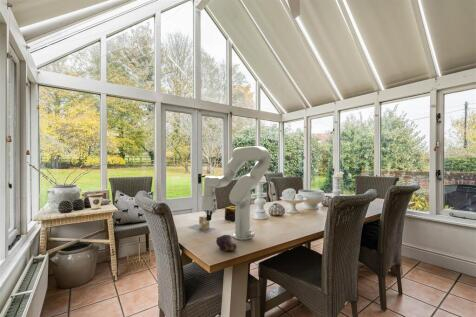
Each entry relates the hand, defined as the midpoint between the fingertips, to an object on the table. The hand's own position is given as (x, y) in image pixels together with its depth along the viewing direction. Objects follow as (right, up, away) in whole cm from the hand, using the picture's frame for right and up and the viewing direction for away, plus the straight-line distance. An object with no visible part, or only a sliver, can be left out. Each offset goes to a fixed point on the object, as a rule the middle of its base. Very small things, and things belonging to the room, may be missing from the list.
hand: (209, 220), depth 155 cm
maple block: (-4, -7, +3) cm, 8 cm away
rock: (+13, -8, -33) cm, 36 cm away
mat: (-6, -7, +4) cm, 11 cm away
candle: (+16, -8, +30) cm, 35 cm away
